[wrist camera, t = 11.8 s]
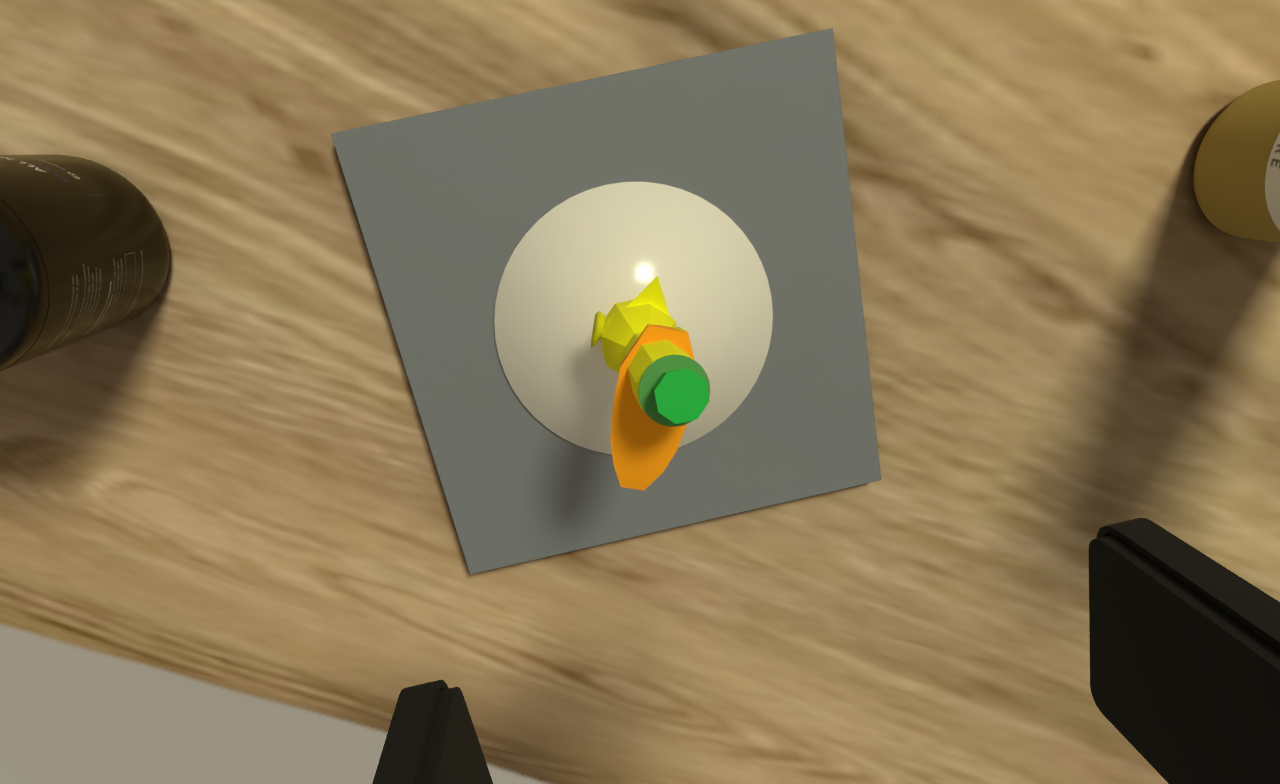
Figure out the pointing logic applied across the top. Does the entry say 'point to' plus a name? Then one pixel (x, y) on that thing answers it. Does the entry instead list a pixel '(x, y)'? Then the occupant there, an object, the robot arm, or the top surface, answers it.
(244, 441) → the top surface
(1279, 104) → the paper tube
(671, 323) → the toy figure
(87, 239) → the supplement bottle
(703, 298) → the slate tile
